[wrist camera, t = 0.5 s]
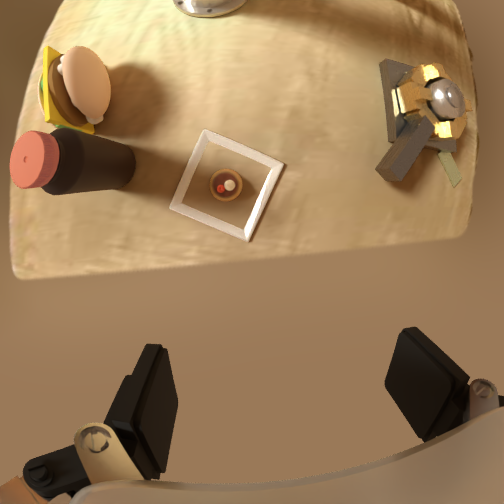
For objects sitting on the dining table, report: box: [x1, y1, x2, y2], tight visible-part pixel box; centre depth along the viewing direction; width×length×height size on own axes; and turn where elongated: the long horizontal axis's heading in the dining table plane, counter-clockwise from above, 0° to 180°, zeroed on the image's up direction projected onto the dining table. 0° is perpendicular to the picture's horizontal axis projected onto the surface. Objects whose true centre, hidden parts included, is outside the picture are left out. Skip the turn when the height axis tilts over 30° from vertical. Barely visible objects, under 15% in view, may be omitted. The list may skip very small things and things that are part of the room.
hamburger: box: [38, 46, 111, 134], centre depth 26 cm, size 12×8×12 cm
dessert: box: [169, 129, 284, 242], centre depth 35 cm, size 12×12×5 cm
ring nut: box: [375, 62, 472, 181], centre depth 30 cm, size 22×12×6 cm, turn 142°
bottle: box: [10, 128, 136, 195], centre depth 25 cm, size 7×7×20 cm
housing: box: [379, 59, 465, 187], centre depth 30 cm, size 20×18×10 cm
